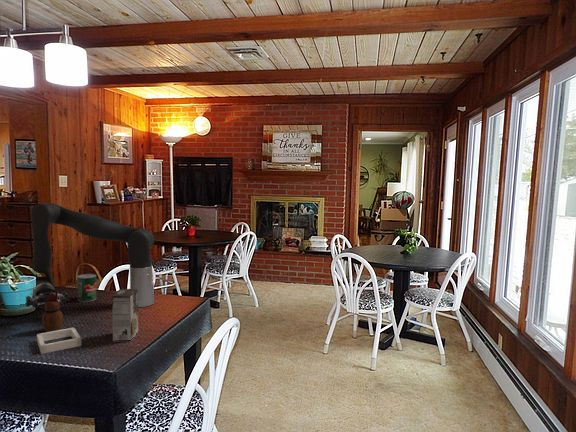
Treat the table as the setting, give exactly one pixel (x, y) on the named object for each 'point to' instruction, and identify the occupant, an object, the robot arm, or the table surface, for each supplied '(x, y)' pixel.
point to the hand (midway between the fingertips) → (49, 303)
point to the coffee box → (125, 314)
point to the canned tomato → (86, 287)
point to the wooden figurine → (52, 314)
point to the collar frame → (61, 344)
